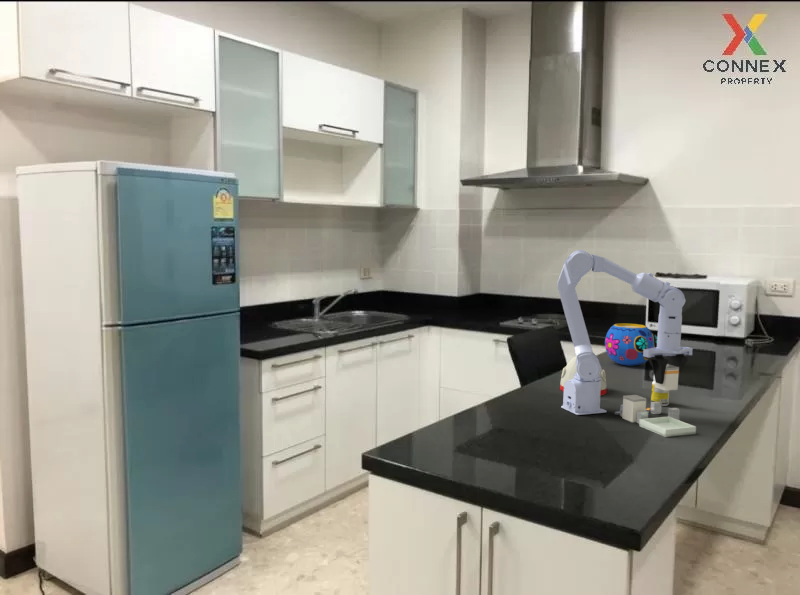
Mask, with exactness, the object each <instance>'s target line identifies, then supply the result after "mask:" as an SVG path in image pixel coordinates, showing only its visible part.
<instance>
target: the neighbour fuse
mask: <svg viewBox="0 0 800 595" xmlns="http://www.w3.org/2000/svg"><path fill="white" fill-rule="evenodd" d="M622 405H623V414H622V416H621V417H622V419H624V420H625V421H628V422H630V423H636V421H637V411H646V409H647V398H646V397H645V396H644V397H643V396H641V395H638V394H632V395H631V394H630V395H623V396H622Z"/></svg>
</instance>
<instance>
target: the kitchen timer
mask: <svg viewBox="0 0 800 595" xmlns="http://www.w3.org/2000/svg"><path fill="white" fill-rule="evenodd" d="M576 358H577V356H576V355H575V356H574V357H572V358H571V359H570V360H569V361H568V363H567V364H566V366H564V367H563V368H562V371H561V378H560V383H559V384H560V387H559V390H560V391H561V390H562V391H561V392H563V393H564V384H565V382H566V381H568V380H571V379H573V378H574V375H575V374H576V373H577V367H576ZM599 376H600V377H601V392H600V396H604V395H606V394H607V389H608V388H607V378H606V377H607V376H606V371H605V369H602V367H601V373H600V375H599Z"/></svg>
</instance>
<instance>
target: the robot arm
mask: <svg viewBox="0 0 800 595" xmlns="http://www.w3.org/2000/svg"><path fill="white" fill-rule="evenodd" d="M590 271H591V272H593V273H603V272H604V273H605V274H608V275H610V276H612V277H615V278H617V279H618V280H621V281H623V282H625V283H627V284H629V285H631V288H632V292H634V293H636V294H638V295H640V296H642V297H643V298H646V299H648V300H650V301H652V302H654V303H659V314H658V318H657V319H658V320H657V321H658V322H657V335H656V337H657V347H655V348H650V349H643V356H644V357H648V361H649V364H650V365H651V367H652V368H651V369H652V372H653V377H654V376H655V381H656V383H659V384H663V382H664V374H665V369H666V365H667V364H669V365H673V366H676V367H679V374H678V379H679V378H680V375H681V373H682V370H683V369H684V367H685V365H686V364H687V362H688V360H689V357H688V356H693V349H694V348H692V347H688V346H681V341H682V340H681V339H682V338H681V337H682V324H683V314H682V313H683V307H684V305H685V303H686V302H687V301H686V298H685V294H684V292H683V291H682V290H681V289H679V288H676V287H675V286H673V285H671V283H670V282H669V281H666V282H665V281H663V280H661V279H658V278H657V277H655V276H654V274H653V273H652V272H648V273H646V272H640V273H634V272H633V271H631V270H629V269H627V268H625V267H623V266H621V265H619V264H618V263H616V262H614V261H613V260H610V259H608V258H606V257H603V256H600V255H597V254H594V253H589V252H587V251H586V250H582V249H577V250H575V251H573V252H571V253H570V255H569V256H568V257H566V259H565V261H564V263H563V266H562V269H561V272H560V274H559V277H558V280H557V282H556V285H557V287H556V288H557V291H558V295H559V297H560V302H561V305H562V309H563V312H564V316H565V319H566V323H567V326H568V330H569V333H570V337H571V340H572V341H571V342H572V344H573V348H574V351H575V356H577V358H576V367H577V373H576V374H575V375H574V378H573V379H571V380H568V381H566V382H565V384H564V392H563V394H562V396H563V397H562V398H563V399H562V405H561V407H560V408H561V409H564V410H566V411H567V412H570V413H572V414H574V415H576V416H580V415H592V414H593V415H595V414H603V413H607V410H606V409H603V408H600V407H601V395H600V392H601V377H600V376H599V375H600V373H601V368H602V366H601V363H600V360H599V357H598V355H596V354H595V353H594V351H593V349H592V348H593V347H592V344H591V341H590V337H589V333H588V329H587V326H586V323H585V320H584V319H585V318H584V316H583V312H582V309H581V304H580V301H579V297H578V293H577V291H576V287H577V285H578V284H579V282H580V281H581V279H582V278H583V277H584V276H585V275H586V274H588V273H589V272H590ZM665 357H667V359H666V358H665Z"/></svg>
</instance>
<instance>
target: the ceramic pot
mask: <svg viewBox="0 0 800 595" xmlns="http://www.w3.org/2000/svg"><path fill="white" fill-rule="evenodd" d="M604 338H605V339H604V346H605V347H604V348H605V351H606V353H607V356H608V357H609V358H610V360H611V361H613V362H615V363H617V364H620V365H621V366H626V367H635V366H639V365H643V364H644V363H647V362H648V361H649V360H648V357H644V356H643V349H650V348H655V347H657V335H656V334H654V333H652V331H651V329H650V328H648V326H646V325H644V324H638V323H622V322H621V323H615V324H613V325H612V326H611V327H610V328H609V329H608V330H607V333H606V335H605V337H604Z"/></svg>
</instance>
